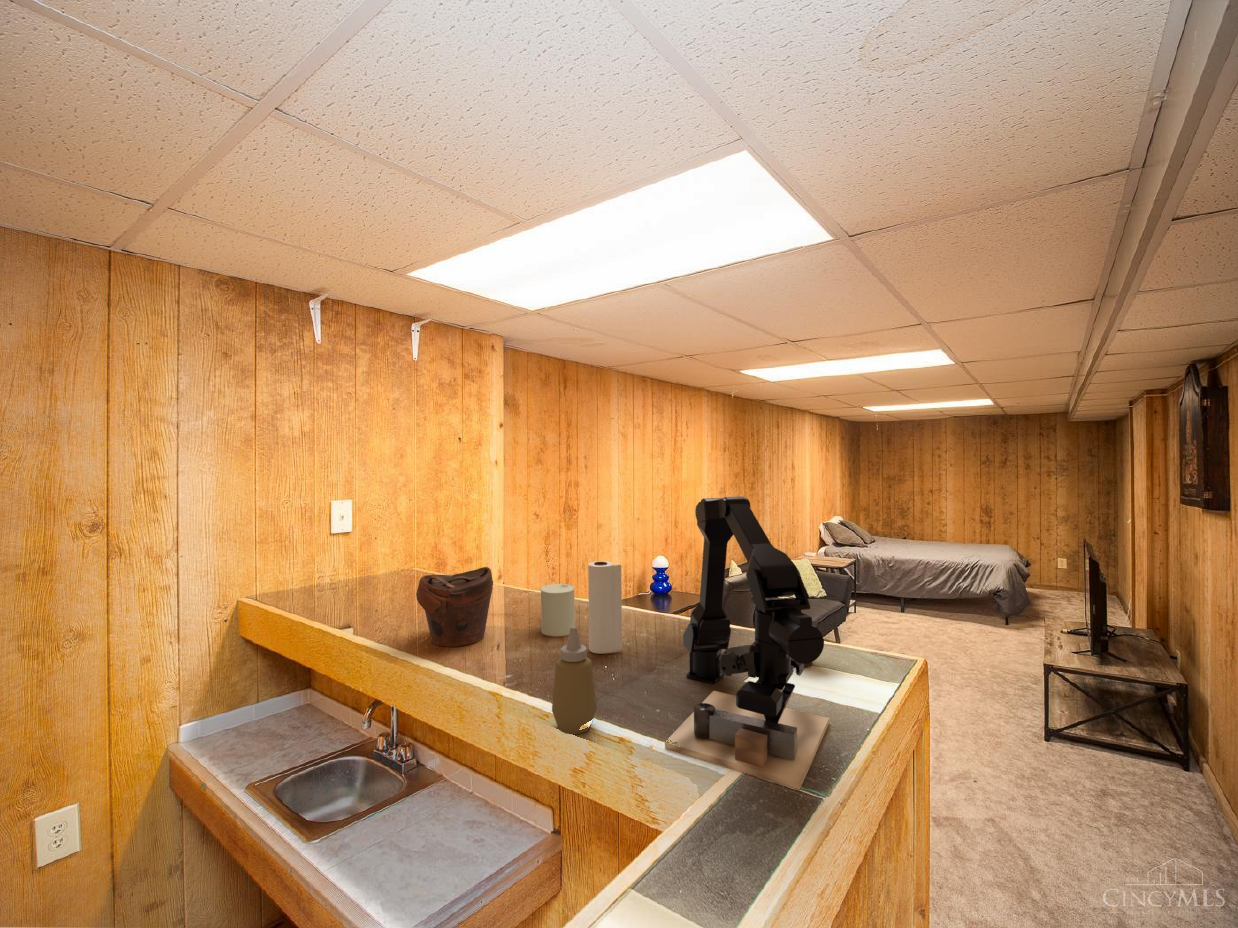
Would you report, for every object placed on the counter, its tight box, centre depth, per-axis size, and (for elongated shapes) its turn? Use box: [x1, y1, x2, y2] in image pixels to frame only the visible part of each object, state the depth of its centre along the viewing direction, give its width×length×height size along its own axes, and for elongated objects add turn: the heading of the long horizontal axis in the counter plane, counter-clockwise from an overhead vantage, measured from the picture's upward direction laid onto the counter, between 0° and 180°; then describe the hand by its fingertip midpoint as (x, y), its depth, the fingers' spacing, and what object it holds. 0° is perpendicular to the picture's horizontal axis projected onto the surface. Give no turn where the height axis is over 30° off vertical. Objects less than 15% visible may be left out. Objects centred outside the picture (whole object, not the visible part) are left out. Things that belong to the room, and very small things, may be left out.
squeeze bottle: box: [551, 626, 597, 735], centre depth 101 cm, size 8×8×18 cm
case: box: [415, 566, 494, 648], centre depth 145 cm, size 18×20×18 cm
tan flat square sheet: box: [664, 690, 830, 790], centre depth 98 cm, size 22×22×1 cm
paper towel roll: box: [587, 560, 623, 655], centre depth 137 cm, size 7×6×21 cm
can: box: [540, 583, 576, 638], centre depth 151 cm, size 9×9×12 cm
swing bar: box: [693, 702, 797, 760], centre depth 93 cm, size 17×4×4 cm, turn 63°
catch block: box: [735, 728, 767, 768], centre depth 89 cm, size 4×2×4 cm, turn 59°
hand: (771, 729), depth 93 cm, fingers closed
